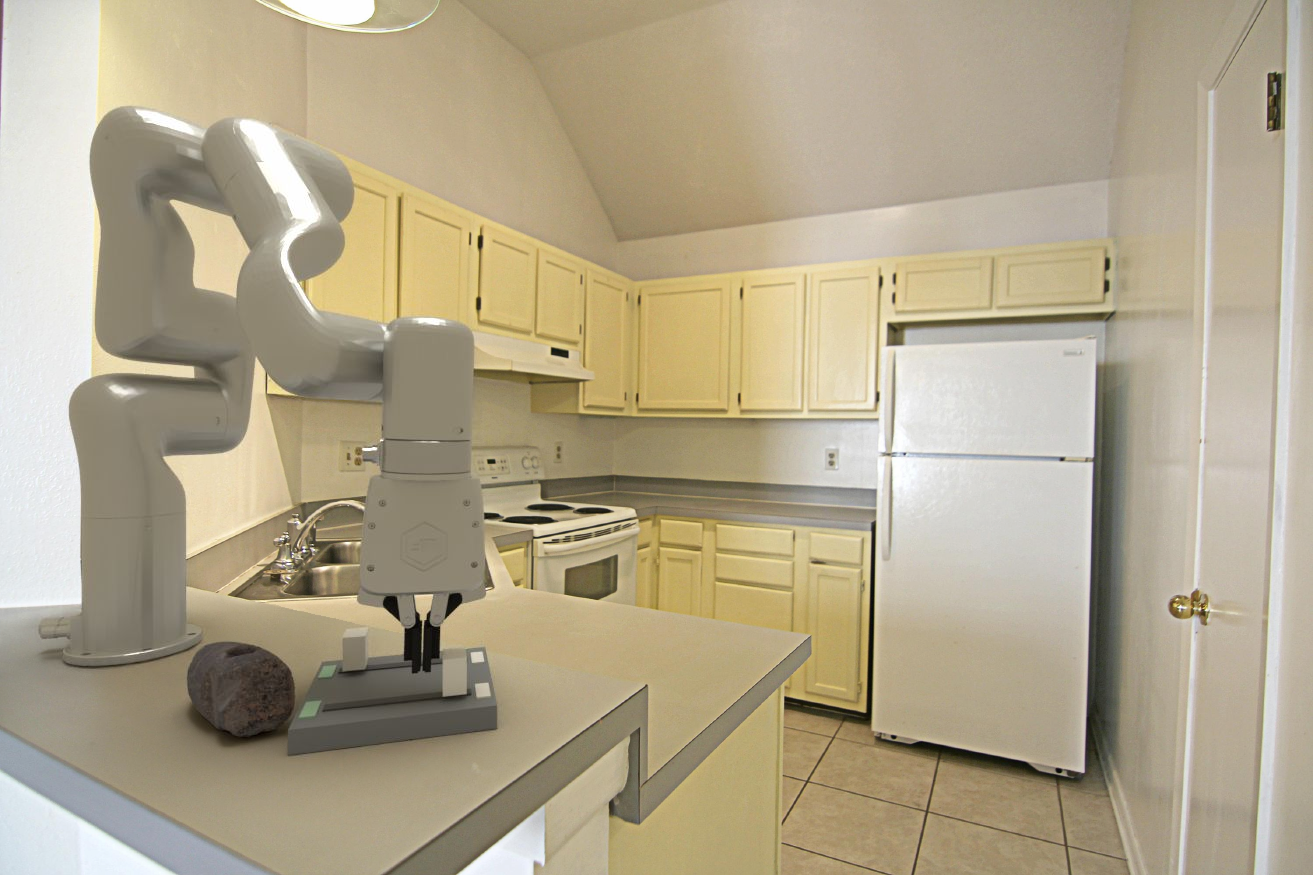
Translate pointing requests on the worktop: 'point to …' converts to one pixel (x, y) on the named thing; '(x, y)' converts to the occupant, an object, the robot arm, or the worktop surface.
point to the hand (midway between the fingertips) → (421, 667)
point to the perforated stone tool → (241, 687)
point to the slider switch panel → (390, 704)
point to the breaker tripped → (454, 671)
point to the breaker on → (355, 649)
